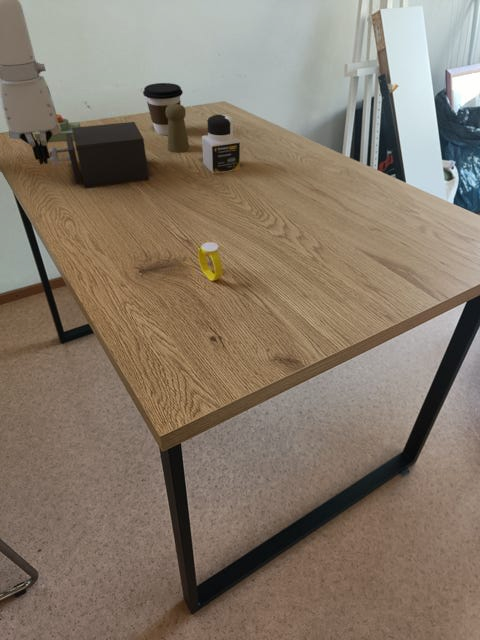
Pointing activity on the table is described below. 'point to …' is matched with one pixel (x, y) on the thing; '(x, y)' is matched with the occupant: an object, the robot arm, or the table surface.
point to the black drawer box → (111, 154)
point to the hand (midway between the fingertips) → (43, 161)
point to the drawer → (72, 158)
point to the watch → (212, 250)
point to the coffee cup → (161, 103)
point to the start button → (59, 118)
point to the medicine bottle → (221, 145)
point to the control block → (65, 128)
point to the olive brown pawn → (176, 128)
